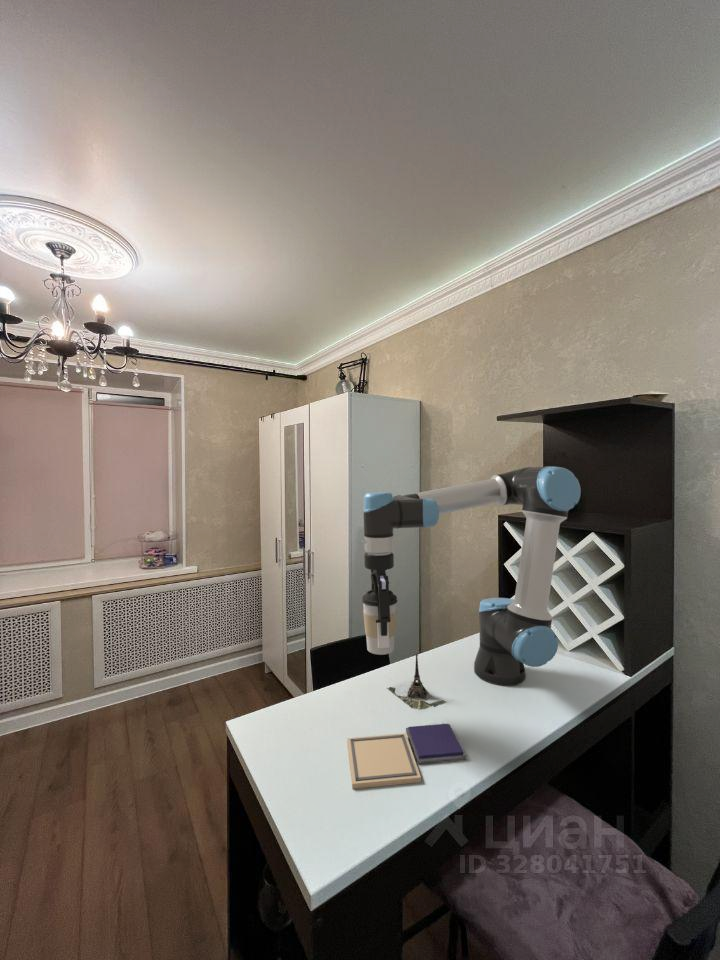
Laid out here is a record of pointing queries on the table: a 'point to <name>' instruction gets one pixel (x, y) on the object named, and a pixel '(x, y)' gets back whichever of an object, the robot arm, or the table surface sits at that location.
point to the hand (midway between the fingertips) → (380, 639)
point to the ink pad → (435, 744)
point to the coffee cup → (371, 625)
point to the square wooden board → (381, 761)
